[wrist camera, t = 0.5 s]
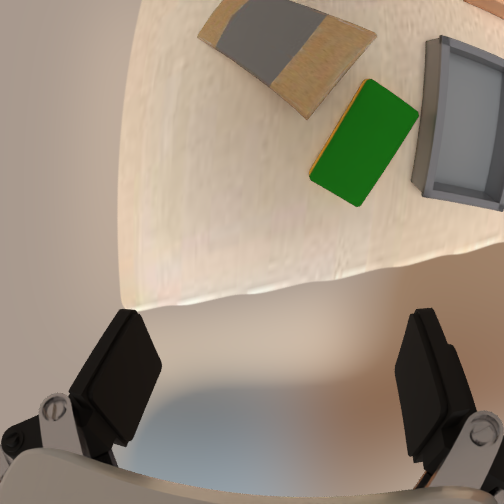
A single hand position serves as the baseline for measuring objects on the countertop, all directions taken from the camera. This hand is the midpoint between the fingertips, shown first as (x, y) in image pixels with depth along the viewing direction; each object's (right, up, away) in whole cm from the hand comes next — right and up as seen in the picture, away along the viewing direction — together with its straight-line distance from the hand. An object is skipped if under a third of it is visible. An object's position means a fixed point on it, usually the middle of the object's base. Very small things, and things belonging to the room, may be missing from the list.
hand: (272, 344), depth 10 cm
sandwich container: (+1, +27, +19) cm, 33 cm away
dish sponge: (+12, +16, +24) cm, 31 cm away
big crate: (+25, +19, +19) cm, 37 cm away
